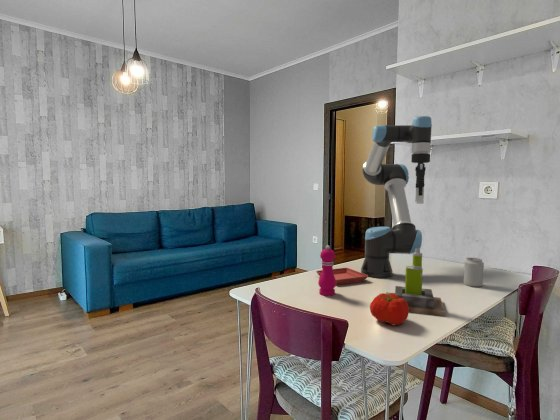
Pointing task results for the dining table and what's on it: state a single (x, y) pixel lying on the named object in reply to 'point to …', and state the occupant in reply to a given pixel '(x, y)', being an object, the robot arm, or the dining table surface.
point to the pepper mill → (327, 273)
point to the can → (473, 272)
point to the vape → (414, 275)
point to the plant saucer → (346, 276)
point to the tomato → (389, 308)
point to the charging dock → (429, 311)
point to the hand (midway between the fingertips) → (419, 202)
